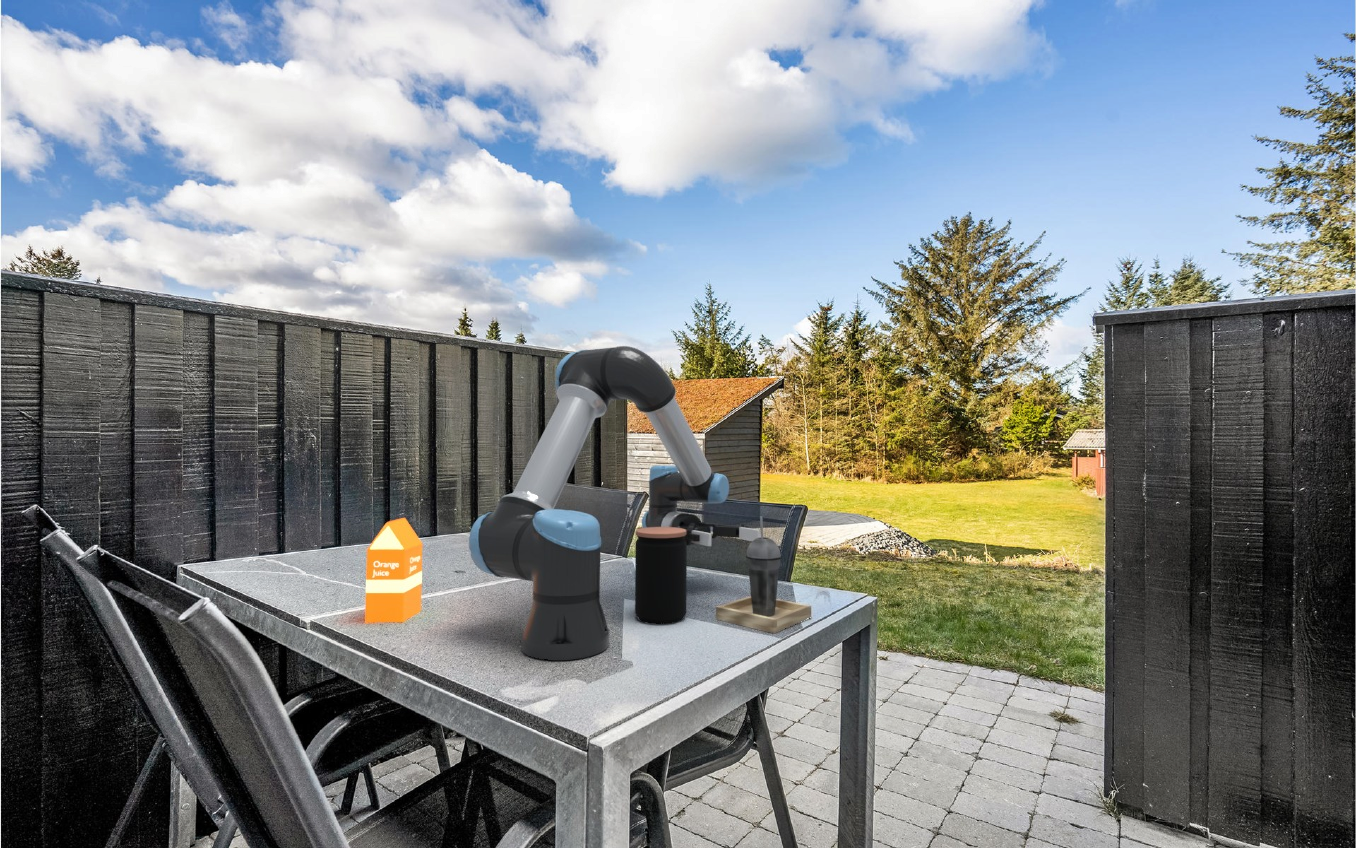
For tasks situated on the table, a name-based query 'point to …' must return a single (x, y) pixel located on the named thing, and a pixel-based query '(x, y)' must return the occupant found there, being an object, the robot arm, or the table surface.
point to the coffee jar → (660, 575)
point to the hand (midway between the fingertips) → (735, 538)
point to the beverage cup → (763, 574)
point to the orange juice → (393, 574)
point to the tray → (744, 616)
